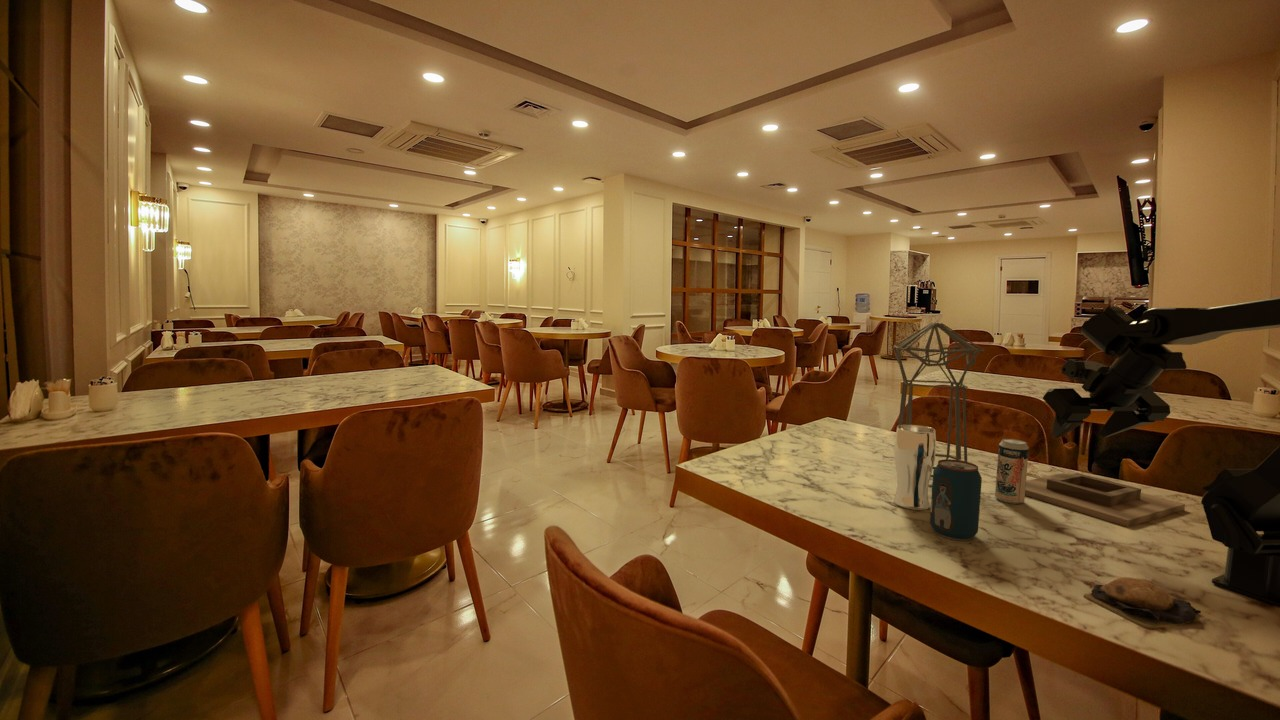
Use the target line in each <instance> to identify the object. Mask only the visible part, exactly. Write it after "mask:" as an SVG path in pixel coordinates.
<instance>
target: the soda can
mask: <svg viewBox="0 0 1280 720" xmlns="http://www.w3.org/2000/svg"><path fill="white" fill-rule="evenodd" d="M961 460H962V459H961ZM961 460H955V459H952V458H950V459H949V458H948V459H946V458H943V459H939V460H938V461H937V464H936V466H935V467H936V468H935V469H933V470H932V475H933V478H932V484H931V485H932V487H931V500H930V513H929V524H930V526H931V527H932V529H933V532H934V533H935V534H937V535H939V536H940V537H943V538H946V539H949V540H953V541H959V542H966V541H970V540H971V541H972V539H974V537H975V536H977V533H978V532H979V523H980V507H981V496H982V495H981V494H982V493H981V492H982V484H983V483H982V481H983V477H982V475H981V473H980V472H979V466H978V465H977V464H975V463H972V462H969V461H967V462H966V461H964V460H962V461H961Z"/></svg>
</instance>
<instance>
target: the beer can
mask: <svg viewBox="0 0 1280 720" xmlns="http://www.w3.org/2000/svg"><path fill="white" fill-rule="evenodd" d="M1029 449H1030V447H1029V445H1028V443H1027V442H1026V441H1024V440H1020V439H1013V438H1003V439H1002V440H1001V441H1000V442H999V444H998V453H997V463H996V465H997V467H996V475H995V477H996V478H995V492H994V497H995V498H997V499H998V500H999V501H1001V502H1004V503H1005V504H1006V503H1007V504H1013V505H1017V504H1018V505H1019V504H1021V503H1024V502H1025V498H1026V496H1025V488H1026V481H1027V474H1028V473H1027V472H1028V461H1029Z"/></svg>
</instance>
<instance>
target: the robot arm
mask: <svg viewBox="0 0 1280 720" xmlns="http://www.w3.org/2000/svg"><path fill="white" fill-rule="evenodd" d="M1269 329H1280V297H1274V298H1273V297H1272V298H1267V299H1261V300H1259V299H1258V300H1253V301H1252V300H1251V301H1247V302H1240V303H1232V304H1227V305H1219V306H1212V307H1152V308H1150V309H1147V310H1145V311H1143V312H1142V316H1140V317H1138V318H1132V317H1131V316H1130V315H1128V314H1127V313H1126V312H1125V310H1124V309H1122V308H1121V307H1120V306H1107V307H1106V308H1105V309H1104V311H1101V312H1099V313H1097V314H1095V315H1093V316H1091V317H1090V318H1089V319H1087V320H1085V321H1084V322H1083V323H1082V324H1081V327H1080V332H1081V334H1082V335H1083V336H1084V337H1085V338H1087V340H1089V341H1090V343H1092V344H1093V345H1094V346H1096V348H1097V349H1099V350H1100V352H1101V351H1102V352H1103V354H1105V355H1107V356H1116V355H1118V357H1117V358H1116V359H1115V360H1114V361H1113V362H1112V364H1111V365H1110V366H1109V365H1105V364H1103V363H1100V362H1097V361H1095V360H1080V359H1078V358H1069V359H1067V361H1065V363H1064V364H1062V367H1061V374H1062V375H1063V376H1066V378H1067V379H1069V380H1074V381H1077V382H1078V383H1081V384H1082V385H1081V388H1082V389H1083V391H1084V392H1087V393H1089V394H1088V395H1089V397H1085V396H1084V397H1082V396H1081V395H1080V394H1079V393H1078V392H1077V391H1076V390H1075V388H1068V387H1067V388H1048V389H1047V390H1046V392H1045V394H1044V395H1043V397H1042V399H1043V401H1045V403H1046V404H1047V405H1048V406H1049V407H1050V409H1052V410H1053V411H1054V419H1053V420H1054V421H1053V425H1052V433H1051V434H1052V436H1053V437H1054V438H1055V439H1059V438H1060V437H1062V436H1064V435H1066V434H1068V433H1069V432H1072V431H1073V430H1074V429H1076V428H1077V427H1080V426H1081V425H1082V424H1085V419H1088V418H1089V417H1090V416H1091V414H1092V412H1093V411H1094V412H1095V411H1096V412H1097V411H1098V412H1099V411H1105V412H1106V411H1108V412H1113V413H1112V414H1111V415H1110V416H1109V418H1108V419H1107V421H1105V424H1104V425H1103V426H1102V428H1101V429H1100V431H1099V433H1098V434H1099V435H1100V436H1101V438H1103V439H1104V438H1108V437H1112V436H1114V435H1117V434H1120V433H1123V432H1126V431H1128V430H1129V431H1130V430H1131V429H1134V428H1138V427H1141V426H1146V425H1148V424H1153V423H1155V422H1156V421H1159V422H1160V421H1161V422H1162V421H1164V420H1165V419H1166V418H1167V417H1168V416H1169V415H1170V414H1171V406H1170V405H1169V404H1168V403H1167V402H1166V401H1165V400H1164V399H1162V397H1160V395H1158V394H1157V393H1155V392H1154V391H1155V390H1156V388H1155V387H1154V386H1152V383H1154V381H1155V380H1156V379H1157V378H1158V377H1159V376H1160V375H1161V374H1162V373H1163V371H1165V370H1168V371H1169V370H1173V371H1175V370H1176V371H1177V370H1179V371H1180V370H1182V371H1183V370H1187V368H1188V367H1187V363H1186V361H1185V360H1184V356H1183V355H1184V353H1183V352H1182V351H1180V352H1179V351H1172V350H1171V349H1170V348H1168V347H1166V346H1167V345H1168V346H1169V345H1172V346H1173V345H1174V346H1175V345H1176V346H1178V345H1179V346H1182V345H1183V346H1191V345H1196V344H1200V343H1203V342H1208V341H1212V340H1215V339H1218V338H1220V337H1222V336H1224V335H1230V334H1233V333H1240V332H1249V331H1251V332H1252V331H1259V330H1269ZM1165 345H1166V346H1165ZM1202 490H1204V491H1206V492H1205V493H1204V494H1203V496H1202V497H1201V499H1200V500H1201V501H1200V504H1201V505H1202V507H1203V511H1204V513H1205V517H1206V519H1207V525H1208V527H1209V532H1210V535H1211V537H1212V538H1211V539H1212V540H1214V541H1216V542H1218V543H1220V544H1222V545H1223V546H1224V547H1227V552H1226V553H1227V554H1226V562H1225V567H1224V568H1225V569H1224V574H1220V575H1217V576H1216V577H1214V578H1211V583H1212V584H1213V585H1217V586H1220V587H1222V588H1224V589H1228V590H1231V591H1234V592H1236V593H1240V594H1242V595H1246V596H1249V597H1251V598H1254V599H1257V600H1260V601H1263V602H1266V603H1269V604H1271V605H1274V606H1277V607H1280V444H1279V445H1278V446H1277V447H1276V448H1275V449H1274V450H1273V451H1271V452H1270V454H1269V455H1267V456H1266V458H1264V459H1263V461H1261V462H1260V463H1259V464H1258V465H1257V466H1256V467H1254V468H1230V469H1229V468H1228V469H1227V468H1226V469H1225V468H1224V469H1223V470H1221V471H1220V472H1219V473H1218V474H1217V476H1216V477H1215V479H1214V480H1213V482H1211V483H1210V484H1208V485H1205V486H1203V487H1202ZM1259 532H1263V533H1259Z"/></svg>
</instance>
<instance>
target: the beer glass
mask: <svg viewBox="0 0 1280 720" xmlns="http://www.w3.org/2000/svg"><path fill="white" fill-rule="evenodd" d="M936 432H937V431H936V429H935V428H933V427H929V426H926V425H917V424H912V425H909V424H908V425H906V424H903V425H899V426H898V425H897V426H896V432H895V440H894V449H893V450H894V451H893V452H894V465H895V473H896V478H897V480H896V485H897V486H896V491H895V494H894V497H893V498H894V499H893V502H894V504H895V505H897V506H898V507H901V508H903V509H907V510H912V511H926V510H929V509H930V500H929V499H930V498H929V487H928V486H929V485H930V481H931V475H933V470H934V469H933V467H935V460H936V456H935V454H937V453H936V452H937V451H936V450H937V449H936V447H937V438H936V437H937V435H936Z"/></svg>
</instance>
